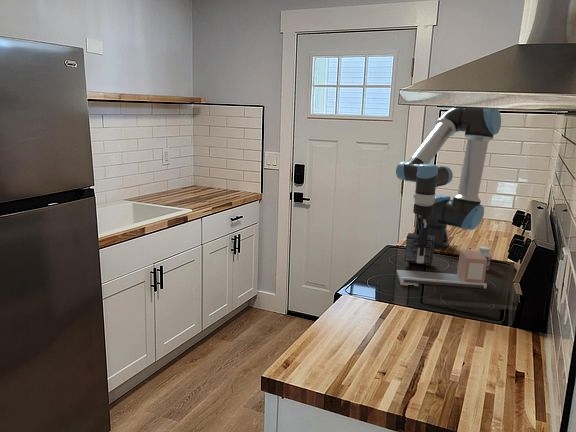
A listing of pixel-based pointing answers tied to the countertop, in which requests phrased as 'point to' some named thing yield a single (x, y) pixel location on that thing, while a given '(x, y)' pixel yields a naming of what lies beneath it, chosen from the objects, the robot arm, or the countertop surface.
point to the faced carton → (471, 266)
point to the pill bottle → (485, 255)
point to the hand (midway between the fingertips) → (418, 259)
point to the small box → (412, 248)
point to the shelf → (434, 279)
